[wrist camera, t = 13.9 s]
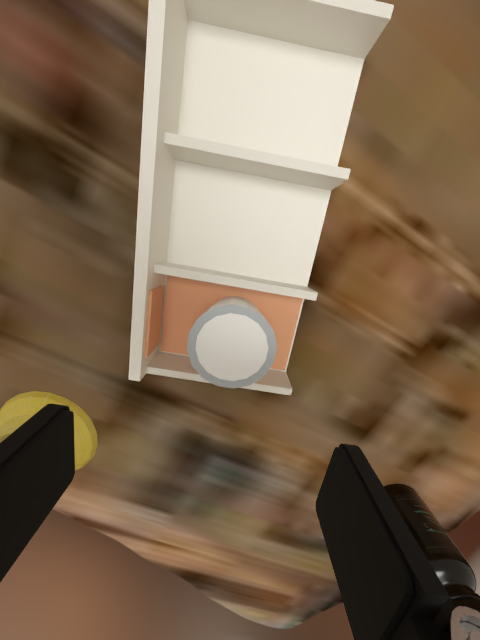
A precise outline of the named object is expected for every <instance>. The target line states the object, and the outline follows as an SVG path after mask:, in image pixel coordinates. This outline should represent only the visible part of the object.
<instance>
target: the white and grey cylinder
mask: <svg viewBox="0 0 480 640" xmlns="http://www.w3.org/2000/svg"><path fill="white" fill-rule="evenodd" d="M276 351H277V344H276V339H275V333H274V330H273V329H272V328H271V326H270V325H269V323H268V322H267V320H266V319H265V317H264V316H263V315H262V314H261V312H260V311H259V310H258V308H257V307H256V306H255V305H254V303H252V302H251V301H249V300H248V299H246V298H244V297H239V296H229V297H224V298H222V299H220V300H219V301H217V302H216V303H214V304H213V305H212V306H211V307H210V308H209V309H208V310H207V311H205V312H204V313H203V314H202V315H201V316H200V317H199V318H198V319H197V320H196V322H195V324H194V325H193V327H192V329H191V330H190V332H189V335H188V343H187V352H188V355H189V359H190V362H191V365H192V366H193V368H194V369H195V370H196V371H197V372H198V374H199V375H200V376H201V377H202V378H203V379H205V380H207V381H209V382H210V383H212V384H214V385H216V386H220V387H227V388H238V387H244V386H249V385H251V384H253V383H254V382H256V381H258V380H259V379H261V378H262V377H264V376H265V374H266V373H267V372H268V370H269V369H270V368H271V366H272V365H273V364H274V359H275V355H276Z"/></svg>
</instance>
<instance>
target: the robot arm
mask: <svg viewBox="0 0 480 640" xmlns="http://www.w3.org/2000/svg"><path fill="white" fill-rule="evenodd" d="M74 474H75V446H74V413H73V411H70V408H69V407H68V406H65V405H58V404H51V403H50V404H47V405H46V406H44V407H43V408H42V409H41V410H39V411H38V412H37V413H36V414H35V415H33V416H32V417H31V418H30V419H28V420H27V421H26V422H25V423H24V424H22V425H21V426H20V427H19V428H18V429H16V430H15V431H14V432H13V433H12V434H10V435H9V436H8V437H7V438H6V439H4V440H3V441H2V442H1V443H0V582H1V581H2V579H3V578H4V576H5V575H6V573H7V572H8V571H9V569H10V568H11V566H12V565H13V564H14V562H15V561H16V559H17V558H18V557H19V555H20V554H21V552H22V551H23V549H24V548H25V547H26V545H27V544H28V542H29V541H30V539H31V538H32V537H33V535H34V534H35V532H36V531H37V530H38V528H39V527H40V525H41V524H42V522H43V521H44V520H45V518H46V517H47V515H48V514H49V513H50V511H51V510H52V508H53V507H54V506H55V504H56V503H57V501H58V500H59V498H60V497H61V496H62V494H63V493H64V491H65V490H66V489H67V487H68V486H69V484H70V483H71V481H72V479H73V477H74ZM316 511H317V515H318V519H319V522H320V525H321V529H322V532H323V536H324V539H325V542H326V546H327V549H328V552H329V556H330V559H331V563H332V566H333V569H334V573H335V576H336V579H337V583H338V586H339V589H340V593H341V596H342V600H343V603H344V606H345V610H346V613H347V616H348V620H349V623H350V626H351V630H352V633H353V637H354V640H480V612H478V611H476V610H474V609H471V608H469V607H466V606H459V607H455V606H454V604H453V602H452V601H451V599H450V597H449V594H448V593H447V591H446V589H445V588H444V586H443V584H442V583H441V581H440V579H439V578H438V576H437V574H436V573H435V571H434V569H433V568H432V566H431V564H430V563H429V561H428V559H427V558H426V556H425V555H424V553H423V551H422V550H421V548H420V546H419V545H418V543H417V541H416V540H415V538H414V536H413V535H412V533H411V531H410V530H409V528H408V526H407V525H406V523H405V522H404V520H403V518H402V517H401V515H400V513H399V512H398V510H397V508H396V507H395V505H394V503H393V502H392V500H391V498H390V497H389V495H388V493H387V492H386V490H385V488H384V487H383V485H382V484H381V482H380V480H379V479H378V477H377V475H376V474H375V472H374V470H373V469H372V467H371V465H370V464H369V462H368V460H367V459H366V457H365V455H364V454H363V452H362V451H361V449H360V448H359V447H358V446H355V445H348V444H340V445H339V447H336V448H335V449H334V452H333V455H332V457H331V460H330V463H329V466H328V469H327V472H326V474H325V477H324V480H323V483H322V486H321V489H320V491H319V494H318V497H317V500H316Z"/></svg>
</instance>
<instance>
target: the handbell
mask: <svg viewBox="0 0 480 640" xmlns="http://www.w3.org/2000/svg"><path fill="white" fill-rule="evenodd" d="M50 403H51V404H58V405H65V406H68V407H69V408H70V411H73V413H74V446H75V471H76V470H78V469H80V468H81V467H83V466H85V465H86V464H87V463H88V462H89V461H90V460H91V459H92V458H93V457H94V454H95V451H96V449H97V446H98V443H97V432H96V430H95V427H94V425H93V423H92V421H91V419H90V418H89V417H88V416H87V414H86V413H85V412H84V411H83V410H82V409H81V408H80V407H79V406H77V405H76V404H74V403H73V402H71V401H70V400H68V399H67V398H64V397H61V396H58V395H56V394H53V393H48V392H37V391H32V392H27V393H22V394H18V395H16V396H15V397H13V398H11V399H10V400H8V401H6V403H5V404H4V406H3V407H2V408H1V410H0V443H1V442H2V441H3V440H4V439H6V438H7V437H8V436H9V435H10V434H12V433H13V432H14V431H15V430H16V429H18V428H19V427H20V426H21V425H22V424H24V423H25V422H26V421H27V420H28V419H30V418H31V417H32V416H33V415H35V414H36V413H37V412H38V411H39V410H41V409H42V408H43V407H44V406H46V405H47V404H50Z"/></svg>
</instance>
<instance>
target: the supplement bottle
mask: <svg viewBox="0 0 480 640" xmlns="http://www.w3.org/2000/svg"><path fill="white" fill-rule="evenodd" d="M384 488H385V490H386V492H387V493H388V495H389V497H390V498H391V500H392V502H393V503H394V505H395V507H396V508H397V510H398V512H399V513H400V515H401V517H402V518H403V520H404V522H405V523H406V525H407V526H408V528H409V530H410V531H411V533H412V535H413V536H414V538H415V540H416V541H417V543H418V545H419V546H420V548H421V550H422V551H423V553H424V555H425V556H426V558H427V559H428V561H429V563H430V564H431V566H432V568H433V569H434V571H435V573H436V574H437V576H438V578H439V579H440V581H441V583H442V584H443V586H444V588H445V589H446V591H447V593H448V594H449V597H450V599H451V601H452V602H453V604H454V606H455V607H459V606H466V607H469V608H471V609H474V610H476V611H478V612H480V596H479V595H478V594H476V593H475V590H476V578H475V574H474V572H473V570H472V568H471V566H470V565H469V564H468V562H467V561H466V559H465V558H464V557H463V555H462V554H461V552H460V551H459V550H458V548H457V547H456V545H455V544H454V543H453V541H452V540H451V539H450V537H449V536H448V535H447V533H446V532H445V530H444V529H443V528H442V526H441V525H440V524H439V522H438V521H437V519H436V518H435V517H434V515H433V514H432V513H431V511H430V510H429V508H428V507H427V506H426V504H425V503H424V502H423V500H422V499H421V498H420V496H419V495H418V494H417V493H416V492H415V491H414V490H413V489H411V488H409V487H407V486H403V485H391V486H387V487H384Z"/></svg>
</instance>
